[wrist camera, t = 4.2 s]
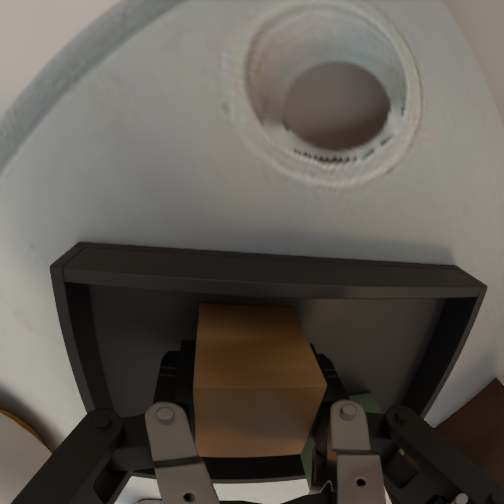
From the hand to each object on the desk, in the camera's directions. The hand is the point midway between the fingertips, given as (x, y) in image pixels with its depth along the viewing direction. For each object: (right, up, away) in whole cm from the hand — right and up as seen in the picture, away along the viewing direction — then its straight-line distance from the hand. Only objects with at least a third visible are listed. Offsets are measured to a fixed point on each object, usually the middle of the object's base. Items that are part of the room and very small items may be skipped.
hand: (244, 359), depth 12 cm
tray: (+1, -2, +3) cm, 4 cm away
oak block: (0, 0, +1) cm, 1 cm away
